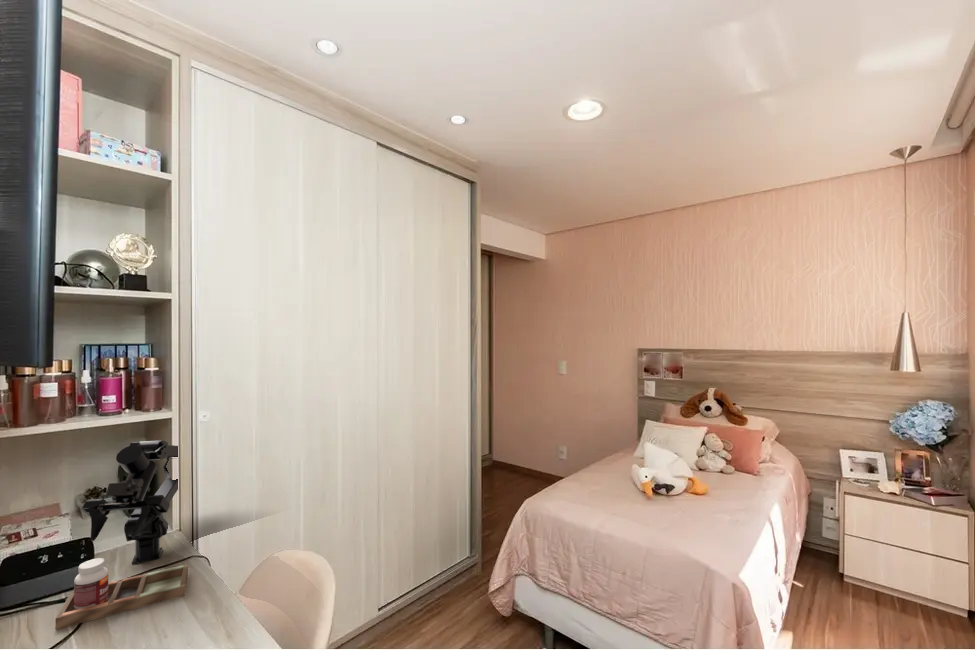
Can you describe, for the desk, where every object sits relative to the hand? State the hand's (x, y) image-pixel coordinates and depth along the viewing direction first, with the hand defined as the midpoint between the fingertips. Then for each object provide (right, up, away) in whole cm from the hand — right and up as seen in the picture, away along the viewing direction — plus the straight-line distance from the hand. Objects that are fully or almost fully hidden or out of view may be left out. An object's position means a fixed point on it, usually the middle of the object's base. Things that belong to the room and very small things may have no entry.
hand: (112, 538), depth 112 cm
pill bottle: (+1, -14, -7) cm, 15 cm away
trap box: (+7, -13, -4) cm, 16 cm away
